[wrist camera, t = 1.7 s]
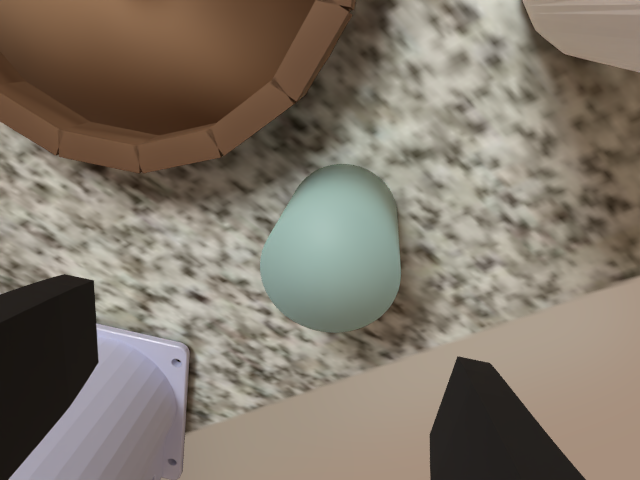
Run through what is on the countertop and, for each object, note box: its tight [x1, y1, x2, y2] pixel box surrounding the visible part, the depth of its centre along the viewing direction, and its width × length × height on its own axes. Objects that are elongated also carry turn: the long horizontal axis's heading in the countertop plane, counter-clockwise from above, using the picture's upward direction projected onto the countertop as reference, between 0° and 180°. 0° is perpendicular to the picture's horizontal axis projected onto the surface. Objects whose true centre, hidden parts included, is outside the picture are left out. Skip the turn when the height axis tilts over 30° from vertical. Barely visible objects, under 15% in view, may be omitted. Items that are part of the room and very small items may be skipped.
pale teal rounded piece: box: [260, 164, 401, 333], centre depth 16 cm, size 4×4×5 cm
